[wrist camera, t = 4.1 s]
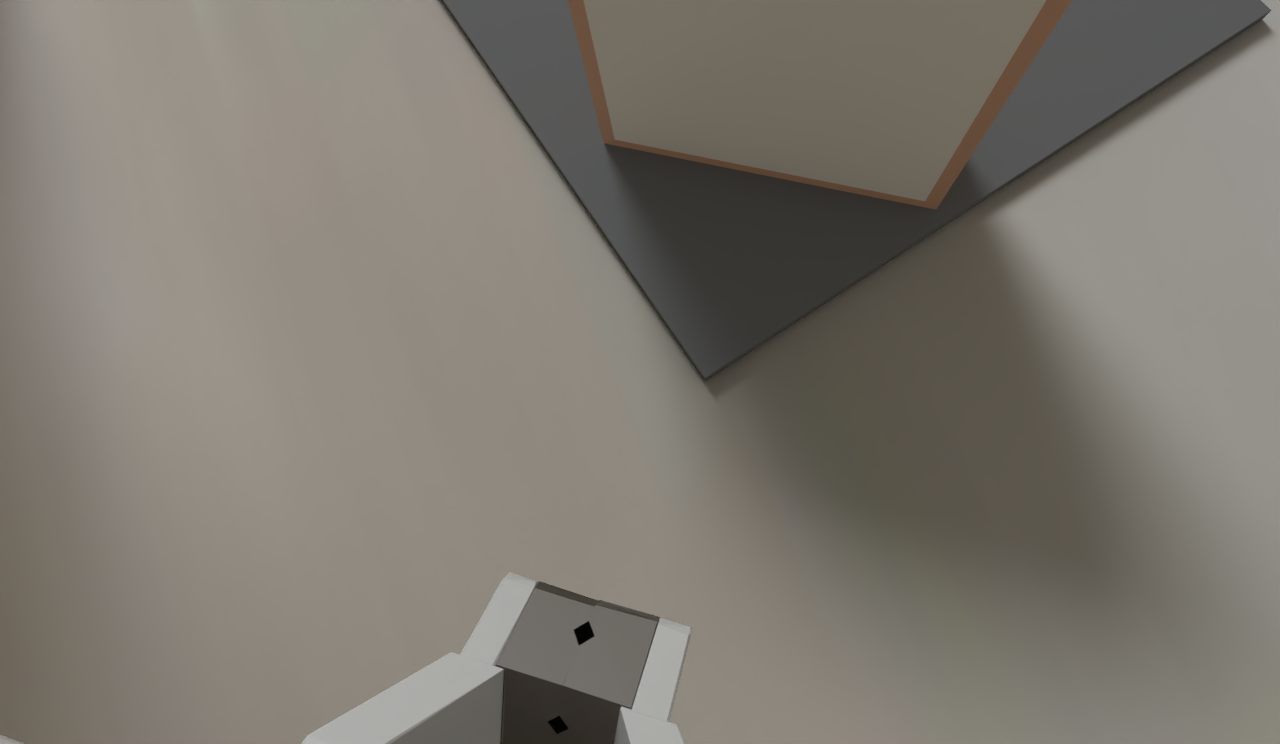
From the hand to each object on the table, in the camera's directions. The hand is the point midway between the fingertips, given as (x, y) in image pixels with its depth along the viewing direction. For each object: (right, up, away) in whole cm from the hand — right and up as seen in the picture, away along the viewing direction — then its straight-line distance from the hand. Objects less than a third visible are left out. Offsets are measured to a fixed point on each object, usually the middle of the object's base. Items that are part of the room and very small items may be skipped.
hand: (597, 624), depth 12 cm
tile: (+5, +12, +15) cm, 20 cm away
